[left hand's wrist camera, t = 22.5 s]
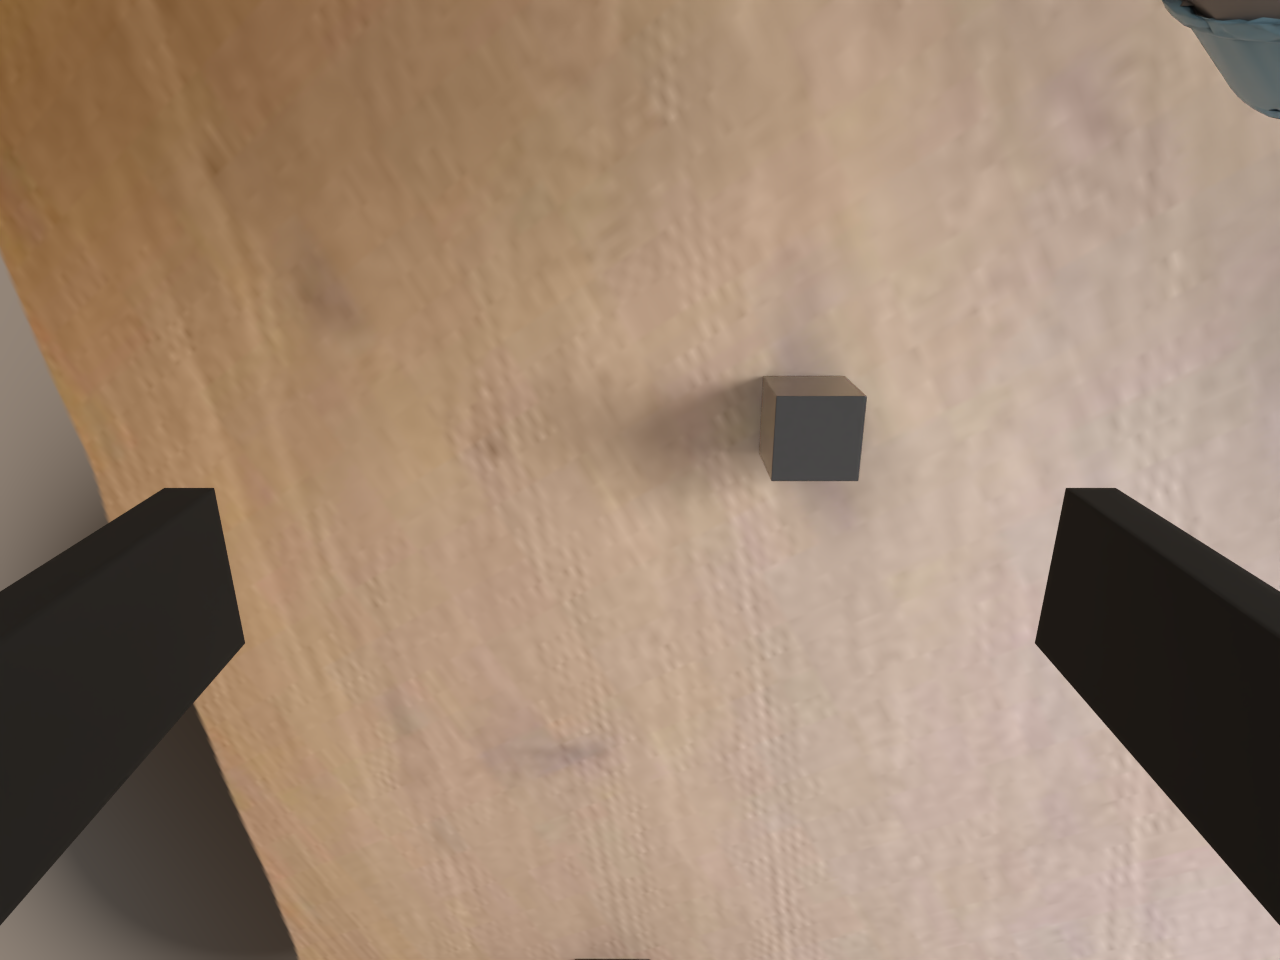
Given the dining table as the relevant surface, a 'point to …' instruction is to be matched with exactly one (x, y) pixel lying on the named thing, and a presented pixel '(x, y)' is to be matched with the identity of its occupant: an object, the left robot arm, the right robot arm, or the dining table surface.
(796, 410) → the slate block
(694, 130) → the dining table surface
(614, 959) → the bar
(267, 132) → the dining table surface
